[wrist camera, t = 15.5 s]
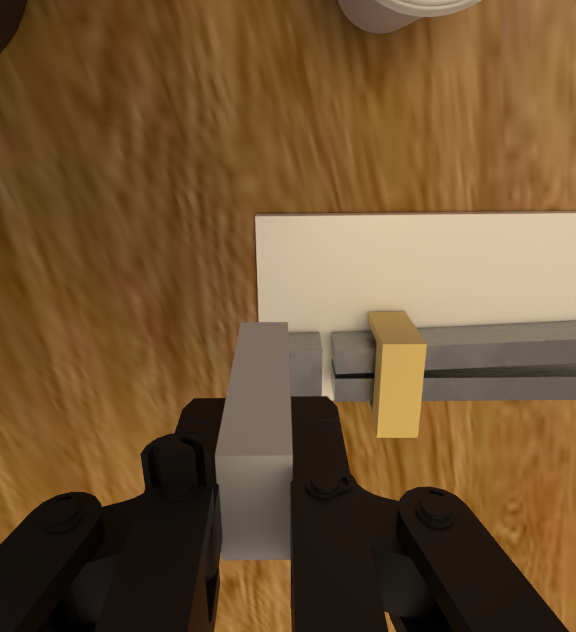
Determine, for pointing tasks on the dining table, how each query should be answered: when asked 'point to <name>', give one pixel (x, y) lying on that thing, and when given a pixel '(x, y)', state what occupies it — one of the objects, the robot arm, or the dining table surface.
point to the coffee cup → (397, 12)
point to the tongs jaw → (468, 347)
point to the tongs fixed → (432, 379)
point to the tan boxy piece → (397, 375)
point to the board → (414, 270)
